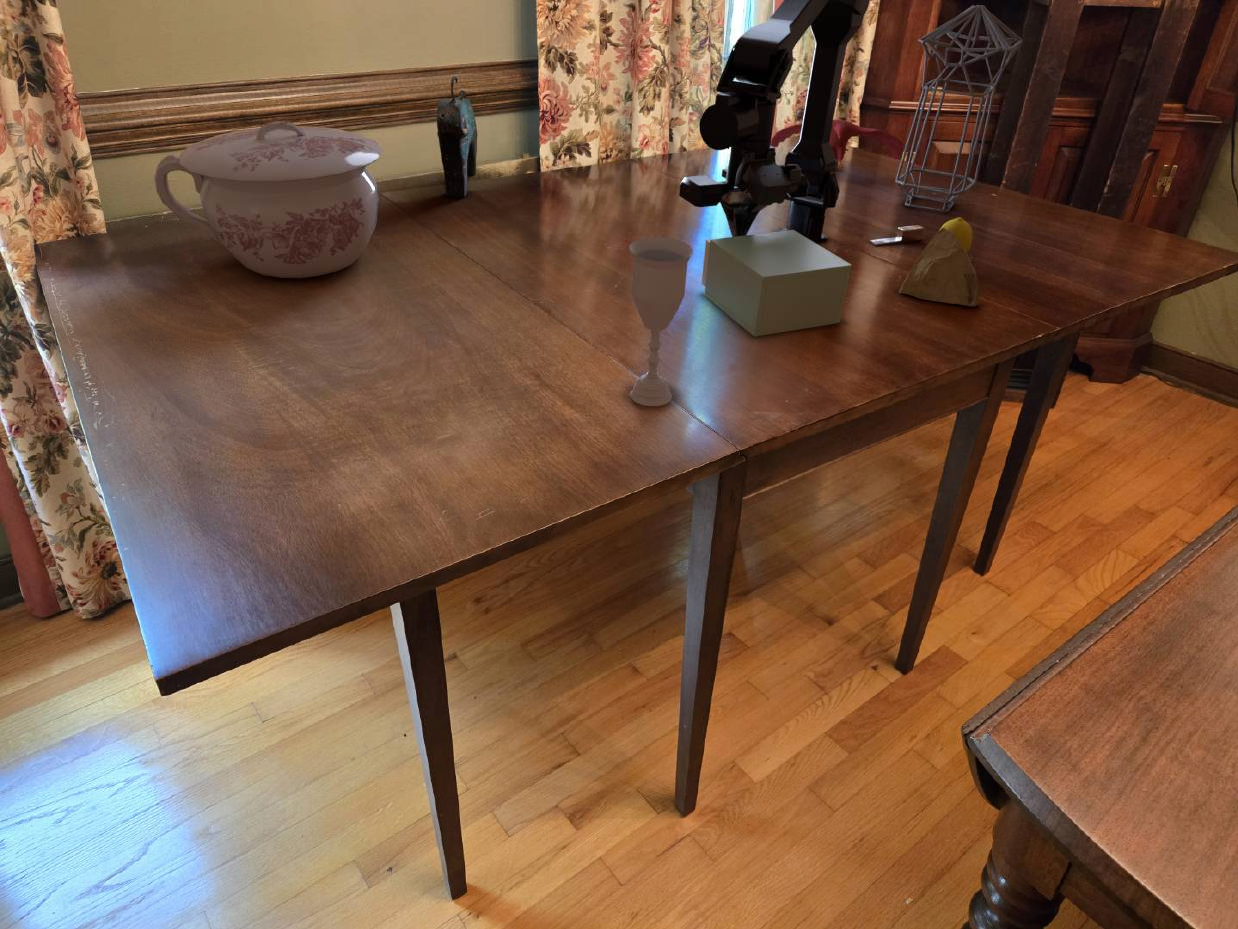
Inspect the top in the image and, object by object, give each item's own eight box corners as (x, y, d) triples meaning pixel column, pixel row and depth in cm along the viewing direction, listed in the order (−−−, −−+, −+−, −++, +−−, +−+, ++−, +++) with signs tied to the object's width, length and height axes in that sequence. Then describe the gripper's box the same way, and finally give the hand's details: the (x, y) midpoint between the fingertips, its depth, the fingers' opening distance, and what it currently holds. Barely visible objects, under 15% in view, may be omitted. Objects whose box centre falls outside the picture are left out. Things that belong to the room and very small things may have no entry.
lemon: (966, 272, 135) (980, 224, 130) (931, 268, 135) (944, 220, 131) (961, 260, 139) (975, 213, 134) (928, 257, 140) (940, 210, 135)
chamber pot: (430, 251, 133) (417, 115, 121) (312, 313, 113) (282, 157, 101) (296, 220, 142) (271, 91, 130) (163, 274, 122) (119, 126, 110)
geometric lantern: (978, 203, 166) (1034, 6, 146) (959, 223, 155) (1017, 13, 135) (901, 188, 173) (945, -3, 153) (877, 207, 162) (921, 3, 142)
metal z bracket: (915, 236, 148) (918, 224, 147) (921, 239, 147) (924, 227, 146) (869, 242, 145) (872, 229, 144) (876, 245, 143) (878, 233, 142)
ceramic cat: (468, 200, 155) (461, 85, 144) (434, 198, 155) (424, 83, 144) (484, 170, 171) (478, 65, 160) (453, 169, 171) (445, 64, 160)
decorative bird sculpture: (765, 179, 190) (771, 139, 175) (769, 143, 192) (776, 101, 177) (890, 190, 186) (907, 150, 172) (893, 153, 188) (911, 111, 174)
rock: (1001, 289, 123) (952, 258, 129) (997, 253, 116) (945, 221, 123) (945, 337, 124) (899, 304, 130) (937, 303, 117) (889, 270, 123)
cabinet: (704, 295, 123) (709, 239, 118) (784, 284, 128) (793, 229, 123) (754, 337, 112) (762, 277, 107) (840, 322, 117) (852, 264, 112)
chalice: (620, 380, 101) (626, 236, 90) (675, 379, 101) (687, 237, 91) (625, 411, 95) (632, 261, 84) (683, 411, 95) (698, 261, 85)
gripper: (720, 155, 107) (708, 270, 116) (839, 146, 113) (819, 255, 122) (682, 135, 115) (673, 243, 124) (795, 127, 121) (779, 231, 130)
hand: (737, 244), depth 125 cm, fingers closed
